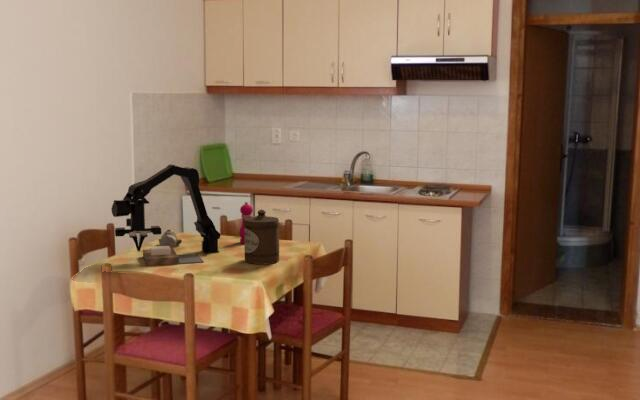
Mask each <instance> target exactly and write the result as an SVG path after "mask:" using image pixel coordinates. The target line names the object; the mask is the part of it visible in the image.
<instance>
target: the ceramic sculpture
mask: <svg viewBox="0 0 640 400" xmlns="http://www.w3.org/2000/svg"><path fill="white" fill-rule="evenodd" d="M158 242H159V246H169V247H170V249H171V248H173V249H174V247H175V246H176V245H177V246H178V245H180V244H181V243H182V242H183V240H182V238H178V236H177V234H176V233H175V232H174V231H172V230H171V229H167V230H166V231H165V232H164V233H163V234H162V236H161V237H160V238H159V239H158Z"/></svg>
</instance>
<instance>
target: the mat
mask: <svg viewBox="0 0 640 400" xmlns="http://www.w3.org/2000/svg"><path fill="white" fill-rule="evenodd" d="M177 255H178V258H179V265H185V264H187V265H188V264H202V263H205V261H204V260H203V259H202V257H201V256H200V255H199V253H191V254H190V253H188V254H184V253H183V254H177Z"/></svg>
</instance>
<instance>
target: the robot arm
mask: <svg viewBox="0 0 640 400" xmlns="http://www.w3.org/2000/svg"><path fill="white" fill-rule="evenodd" d="M174 175H175V176H178V177H180V179H181V180H182V182H183V184H184V185H185V186H186V188H187V190H188V193H189V195H190V198H191V201H192V206H193V208H194V211H195V215H196V221H194V222H193V224H194V226H195V231H197V232H198V234H199V235H200V237H201V238H202V240H201V250H202V252H203V253H204V254H208V253H210V254H211V253H219V252H220V251H219V239H221V233H220V232H219V231H218V230H217V229H216V226H215V224H214V222H213V220H212V219H211V218H210V217H209V215H208V212H207V209H206V205H205V203H204V198H203V196H202V191H201V189H200V174H199V170H198V169H196V168H193V167H189V166H188V167H187V166H185V167H181V166H178V165H176V164H171V163H170V164H168V165H167V166H165V168H163V169H161V170H160V171H158V172H156V173H154V174H153V175H151V176H150V177H148V178H147V179H145V180H142V181H139V182H136V183H133V184H131V185H129V187H128V190H127V193H126V194H125V195H124V197H123V199H119V200H117V199H114V200H113V203H112V205H111V214H112V216H113V217H114V218H118V217H128V216H130V218H126V219H125V222H126V223H125V225H126V227H130V229H129V228H128V229H127V228H125V227H115V228H114V235H115V236H114V237H124V236H125V235H128V237H129V238H130V239H132V240H133V243H134V244H135V247H136V251H137V252H140V251H141V248H142V245H143V242H144V241H145V239H146V238H148V233H150V234H151V233H152V234H153V235H155V236H156V235H162V228H161V226H159V225H151V226H150V227H149V228H146V218H145V217H146V215H145V214H146V213H145V210H146V209H145V204H150V201H149V200H147V199H146V197H147V196H148V194H150V192H151V191H152V190H153V189H154V188H156V187H157V186H158V185H160V184H161V183H163V182H164V181H166V180H168V179H170V178H171V177H172V176H174ZM137 234H139V235H137ZM138 236H139V238H138Z"/></svg>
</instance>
